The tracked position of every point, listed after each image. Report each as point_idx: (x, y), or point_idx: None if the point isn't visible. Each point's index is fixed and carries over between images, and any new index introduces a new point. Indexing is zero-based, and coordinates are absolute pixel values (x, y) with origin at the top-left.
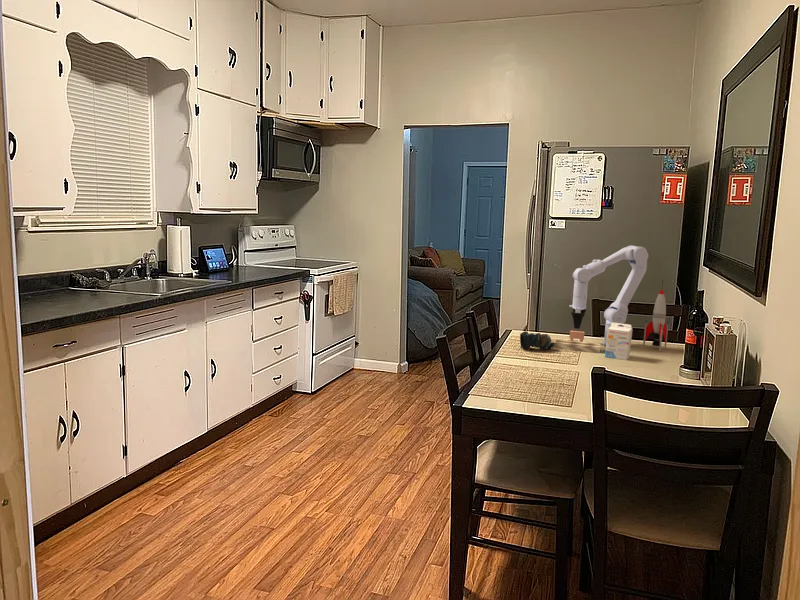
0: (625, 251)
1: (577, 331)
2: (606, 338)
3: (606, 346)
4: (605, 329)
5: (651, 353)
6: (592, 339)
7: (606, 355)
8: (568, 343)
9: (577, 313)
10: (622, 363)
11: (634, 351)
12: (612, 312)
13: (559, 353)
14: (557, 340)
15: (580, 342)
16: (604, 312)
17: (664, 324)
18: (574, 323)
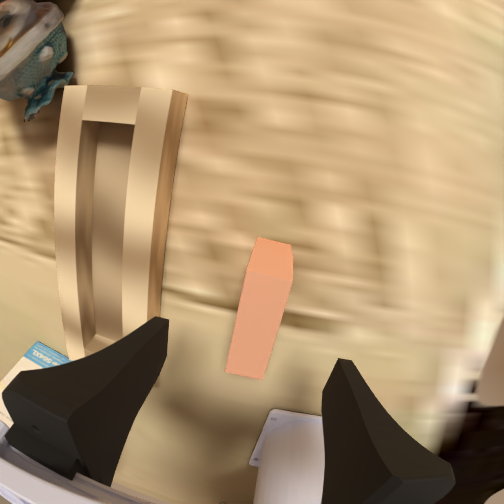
0: None
1: (263, 335)
2: (285, 444)
3: (13, 367)
4: (305, 480)
5: (180, 482)
6: (411, 383)
7: (34, 347)
8: (67, 209)
9: (24, 431)
10: (3, 358)
11: (187, 460)
12: None
13: (5, 149)
14: (133, 135)
15: (125, 295)
16: None
17: None
18: (125, 341)
